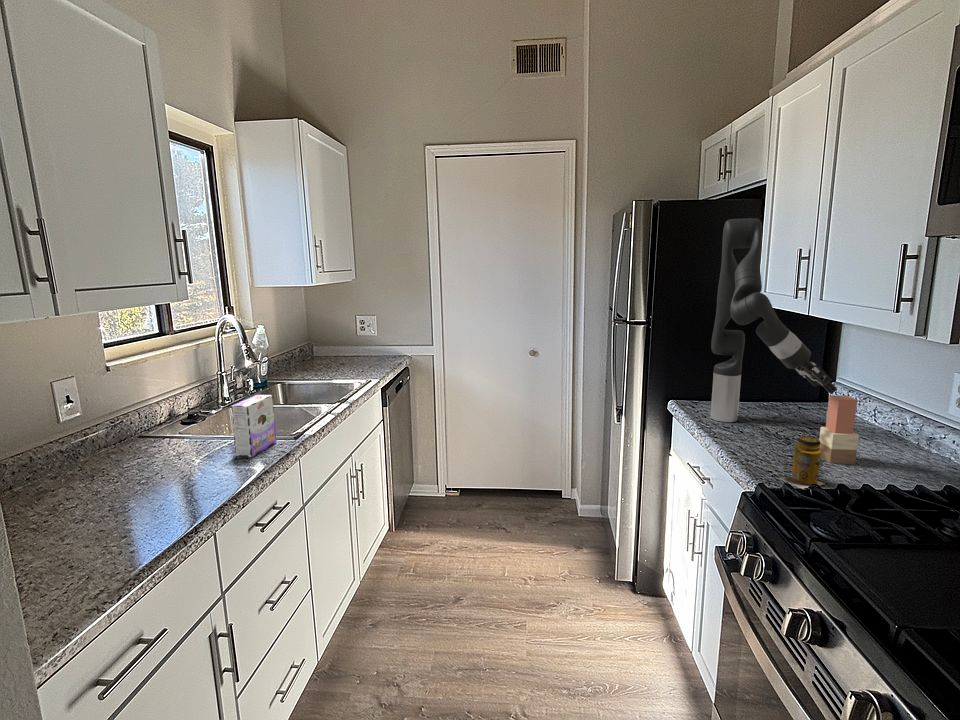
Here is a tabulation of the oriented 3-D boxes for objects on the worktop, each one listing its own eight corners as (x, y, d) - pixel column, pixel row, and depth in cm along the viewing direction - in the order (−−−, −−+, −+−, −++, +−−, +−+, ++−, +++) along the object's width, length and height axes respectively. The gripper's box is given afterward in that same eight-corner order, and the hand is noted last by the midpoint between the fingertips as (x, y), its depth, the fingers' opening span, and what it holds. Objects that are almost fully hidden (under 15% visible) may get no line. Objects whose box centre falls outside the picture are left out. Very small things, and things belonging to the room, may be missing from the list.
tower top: (819, 441, 164) (820, 426, 163) (843, 441, 164) (845, 427, 163) (831, 449, 157) (833, 434, 157) (857, 449, 157) (859, 434, 156)
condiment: (825, 484, 144) (830, 440, 142) (803, 490, 141) (808, 445, 138) (799, 474, 151) (803, 433, 148) (778, 479, 147) (782, 437, 145)
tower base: (817, 455, 165) (818, 441, 164) (841, 455, 165) (843, 441, 164) (829, 463, 158) (831, 449, 157) (855, 464, 158) (856, 449, 157)
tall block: (825, 427, 162) (829, 395, 161) (843, 428, 162) (847, 395, 160) (834, 433, 158) (839, 399, 156) (853, 433, 157) (857, 400, 155)
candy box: (261, 441, 181) (257, 393, 178) (277, 442, 180) (273, 394, 177) (234, 456, 168) (229, 404, 165) (251, 457, 167) (247, 405, 164)
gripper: (812, 343, 149) (850, 385, 150) (787, 336, 163) (823, 373, 164) (790, 362, 150) (828, 403, 152) (767, 353, 164) (802, 390, 166)
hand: (825, 388), depth 158 cm, fingers open, 8 cm apart
